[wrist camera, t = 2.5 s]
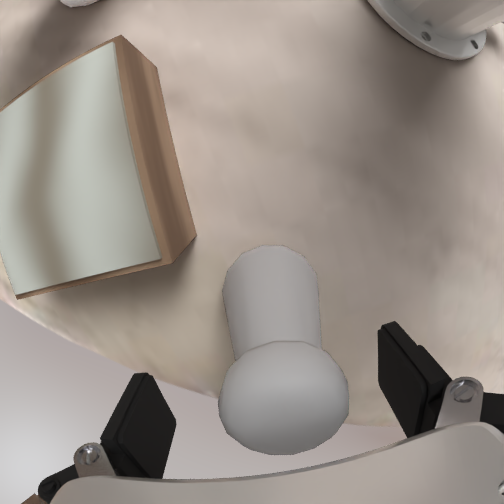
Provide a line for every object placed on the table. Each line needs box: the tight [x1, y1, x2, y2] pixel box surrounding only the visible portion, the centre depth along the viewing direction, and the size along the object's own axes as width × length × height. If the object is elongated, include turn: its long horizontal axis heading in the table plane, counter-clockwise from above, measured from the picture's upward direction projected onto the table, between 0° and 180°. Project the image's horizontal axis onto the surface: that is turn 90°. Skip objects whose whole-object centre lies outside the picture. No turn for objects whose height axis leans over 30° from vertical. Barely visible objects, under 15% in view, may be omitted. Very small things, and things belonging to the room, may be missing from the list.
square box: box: [0, 35, 197, 300], centre depth 15 cm, size 12×12×6 cm
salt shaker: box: [218, 245, 349, 455], centre depth 14 cm, size 6×6×13 cm
